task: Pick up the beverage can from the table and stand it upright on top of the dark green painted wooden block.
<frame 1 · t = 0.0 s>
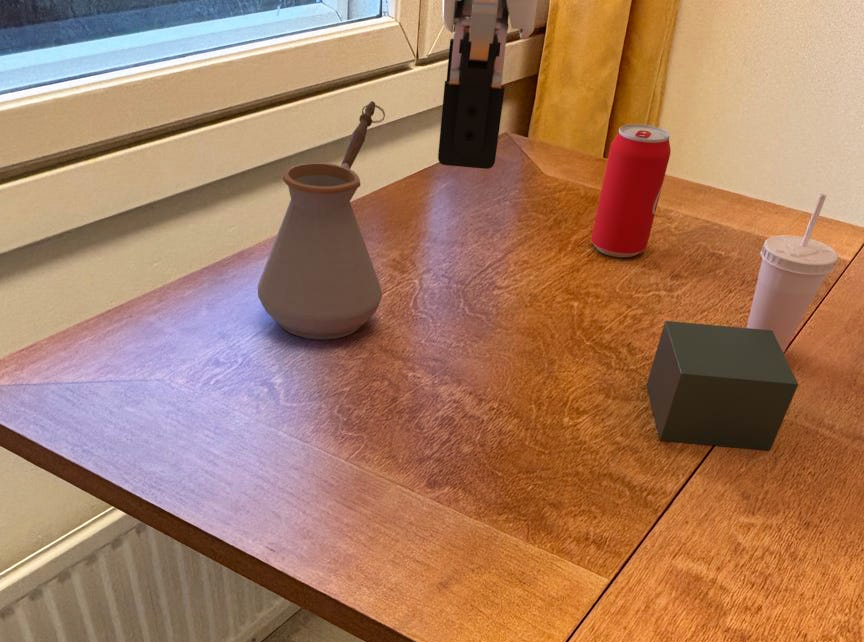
hand: (467, 138, 54), 22 cm above the table, tool pointing down, fingers open, 9 cm apart
smoothie: (761, 353, 85), on the table
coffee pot: (336, 301, 88), on the table
beverage can: (616, 251, 101), on the table
riser block: (705, 416, 76), on the table
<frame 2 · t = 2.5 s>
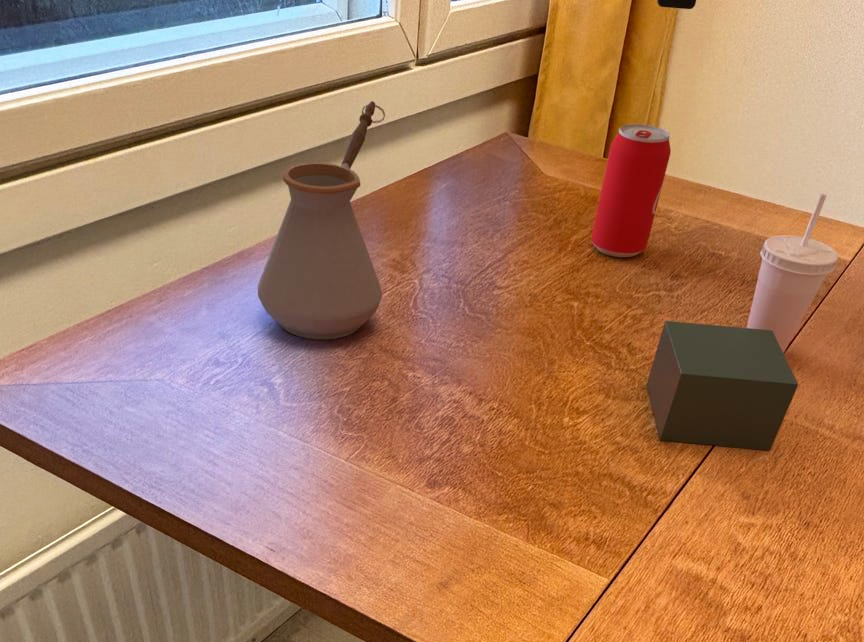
nothing on the table moved.
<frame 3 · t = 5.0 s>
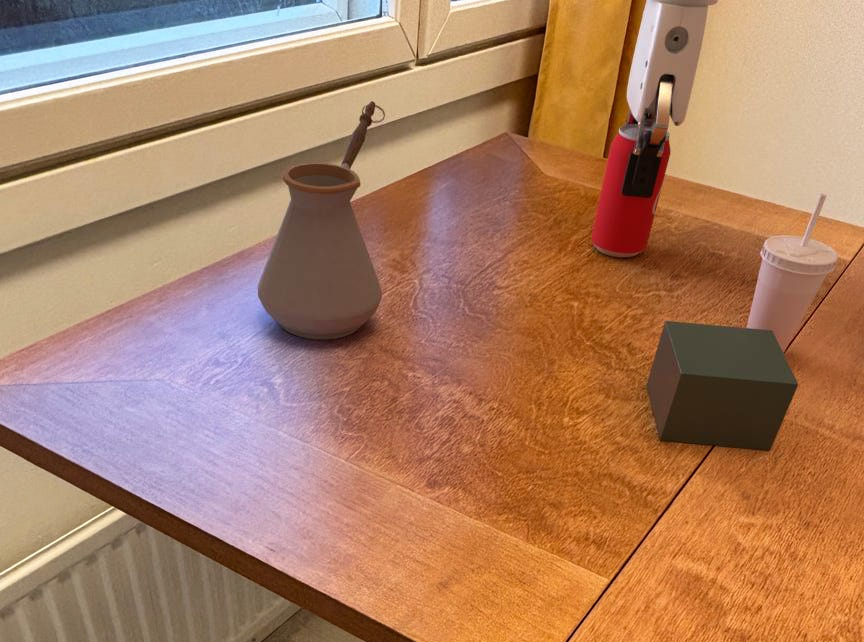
hand: (632, 182, 95), 7 cm above the table, tool pointing down, fingers closed on beverage can, 6 cm apart
beverage can: (616, 251, 101), on the table, touching gripper
everything else where it was.
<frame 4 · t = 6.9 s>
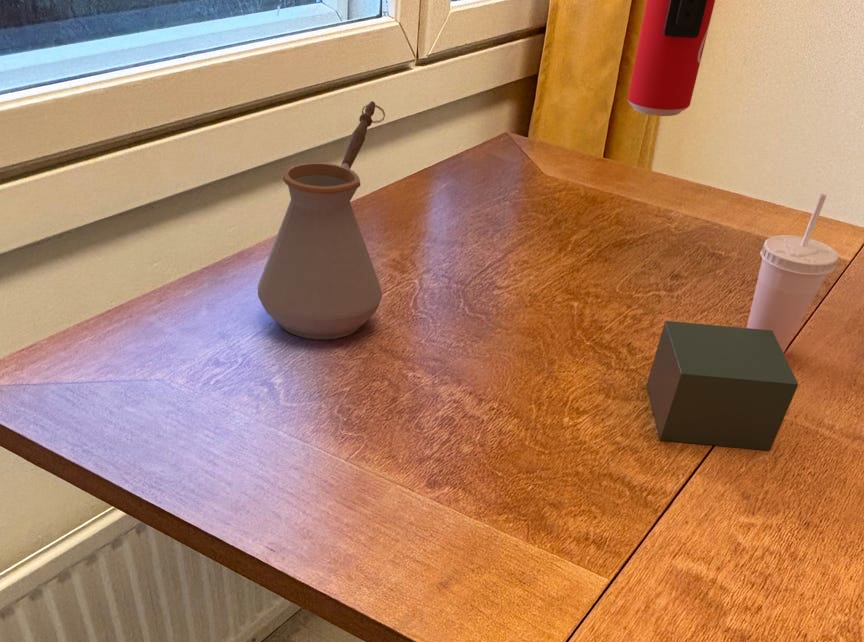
hand: (675, 26, 85), 21 cm above the table, tool pointing down, fingers closed on beverage can, 6 cm apart
beverage can: (655, 112, 90), point 14 cm above the table, touching gripper
everything else where it was.
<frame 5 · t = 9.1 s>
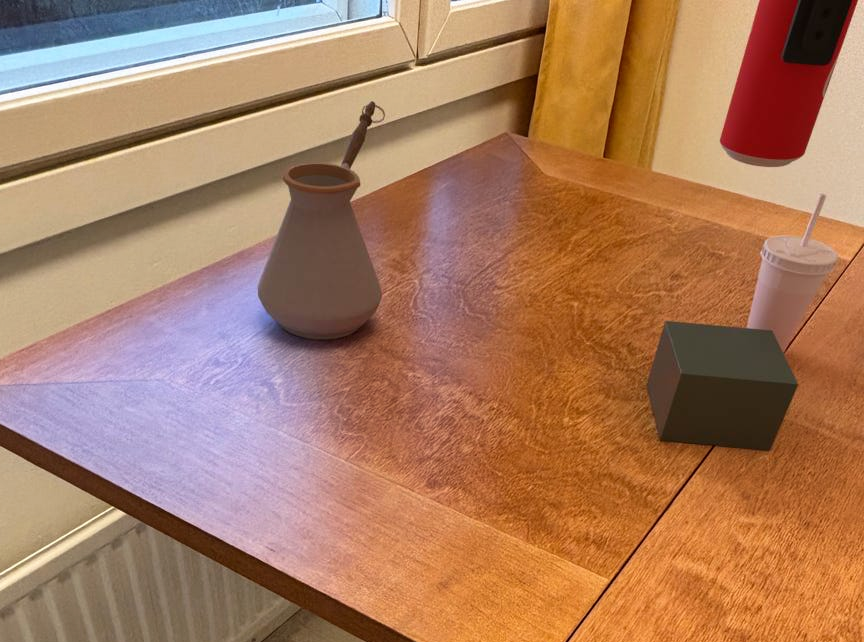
hand: (793, 47, 62), 25 cm above the table, tool pointing down, fingers closed on beverage can, 6 cm apart
beverage can: (757, 160, 67), point 18 cm above the table, touching gripper
everything else where it was.
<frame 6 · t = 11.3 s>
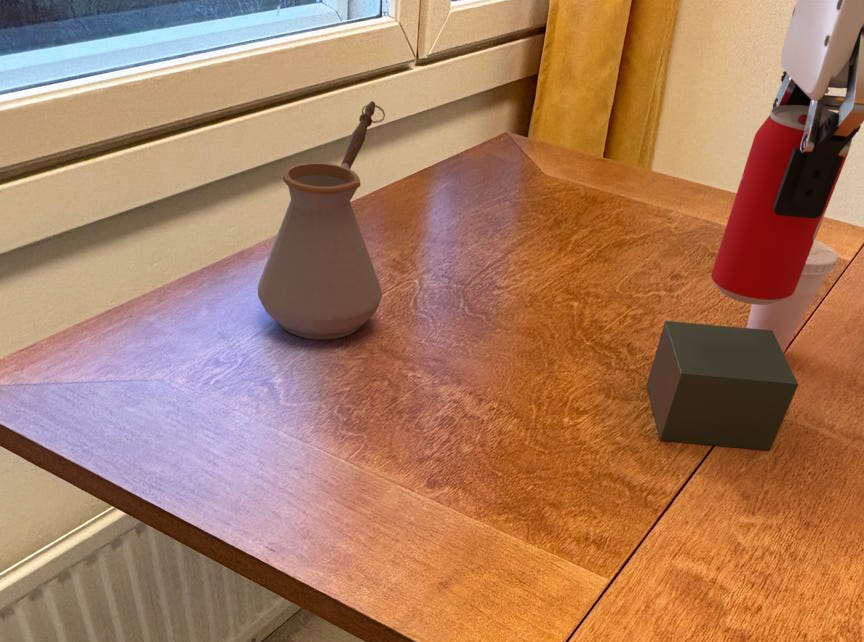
hand: (784, 194, 63), 18 cm above the table, tool pointing down, fingers closed on beverage can, 6 cm apart
beverage can: (748, 294, 68), point 11 cm above the table, touching gripper
everything else where it was.
when the fingers open (13 cm above the table, at t = 13.0 s): beverage can stays where it is, resting on riser block.
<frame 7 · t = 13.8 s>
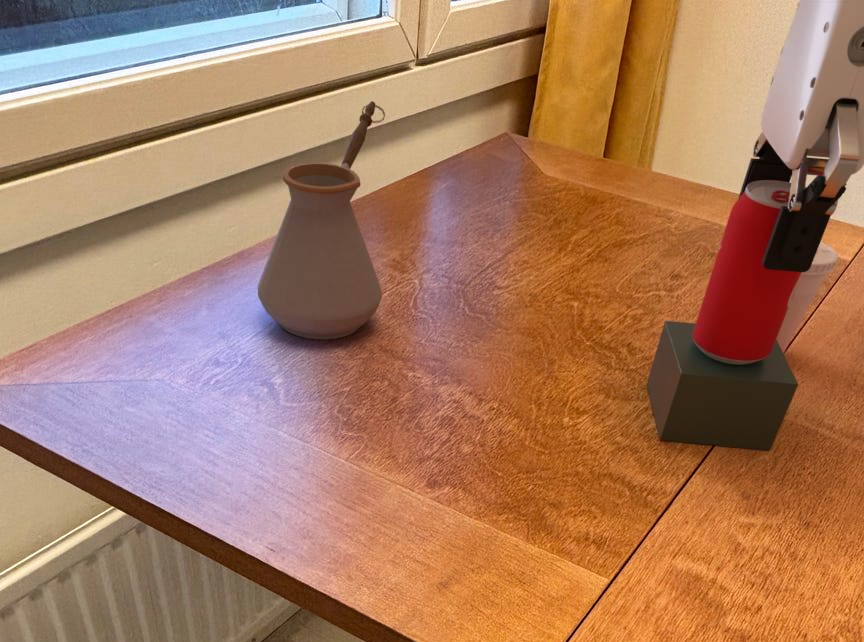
hand: (768, 241, 65), 15 cm above the table, tool pointing down, fingers open, 9 cm apart
beverage can: (727, 353, 72), point 6 cm above the table, touching riser block
riser block: (705, 416, 76), on the table, touching beverage can
everything else where it was.
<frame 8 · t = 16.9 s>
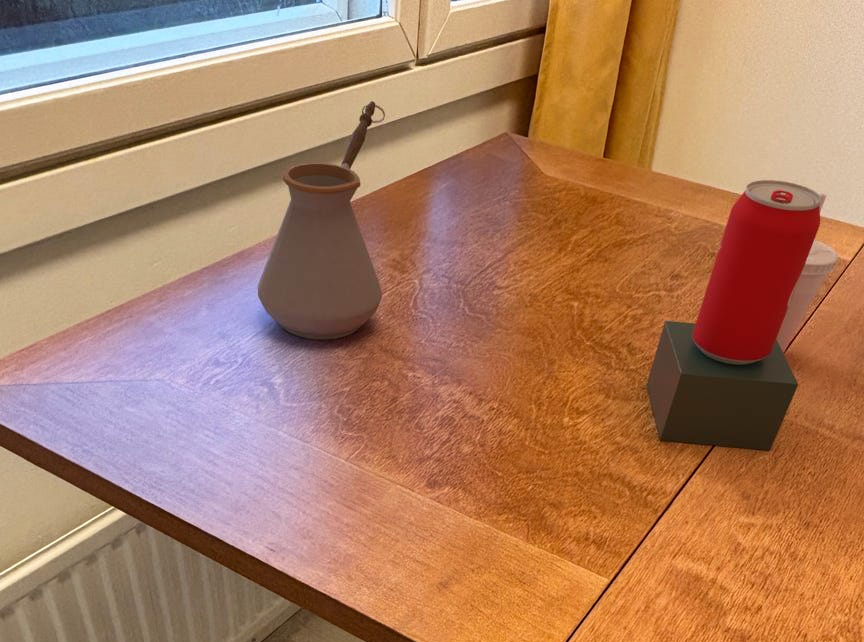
nothing on the table moved.
at the end: beverage can 0.1 cm off-centre on the riser block, point 5.8 cm above the riser block's base; beverage can tilted 0°; the gripper is holding nothing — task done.
